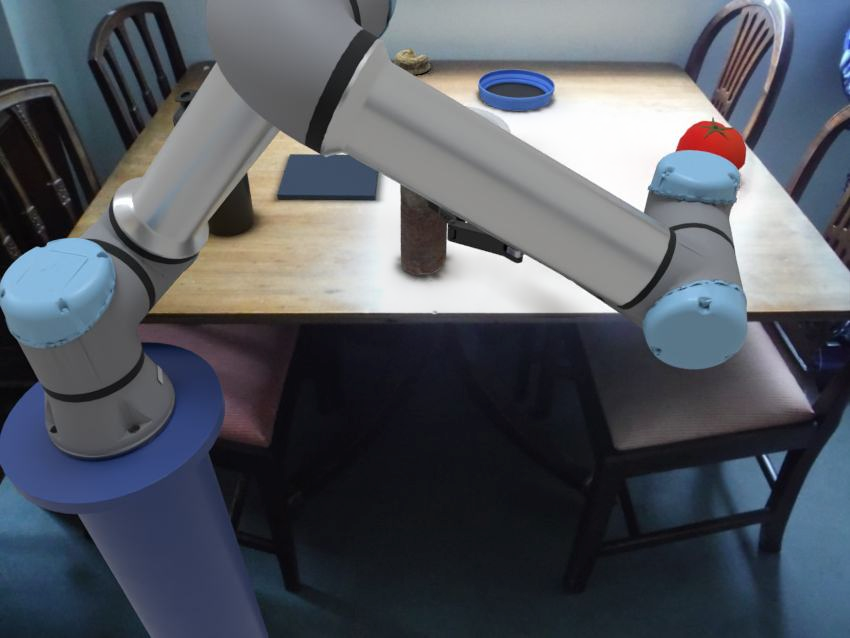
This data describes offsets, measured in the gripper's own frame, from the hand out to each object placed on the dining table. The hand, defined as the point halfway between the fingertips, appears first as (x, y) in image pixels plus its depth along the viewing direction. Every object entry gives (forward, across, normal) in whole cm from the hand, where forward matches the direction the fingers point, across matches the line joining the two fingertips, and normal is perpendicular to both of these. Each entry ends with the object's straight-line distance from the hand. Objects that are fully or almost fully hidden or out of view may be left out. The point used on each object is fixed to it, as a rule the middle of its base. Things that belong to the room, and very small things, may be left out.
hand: (470, 180), depth 88 cm
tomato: (0, +62, -20) cm, 65 cm away
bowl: (+51, +58, -20) cm, 80 cm away
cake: (+80, +49, -19) cm, 96 cm away
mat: (+43, +2, -19) cm, 47 cm away
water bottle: (+40, -20, -19) cm, 49 cm away
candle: (+10, 0, -20) cm, 22 cm away
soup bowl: (+35, +25, -20) cm, 48 cm away
